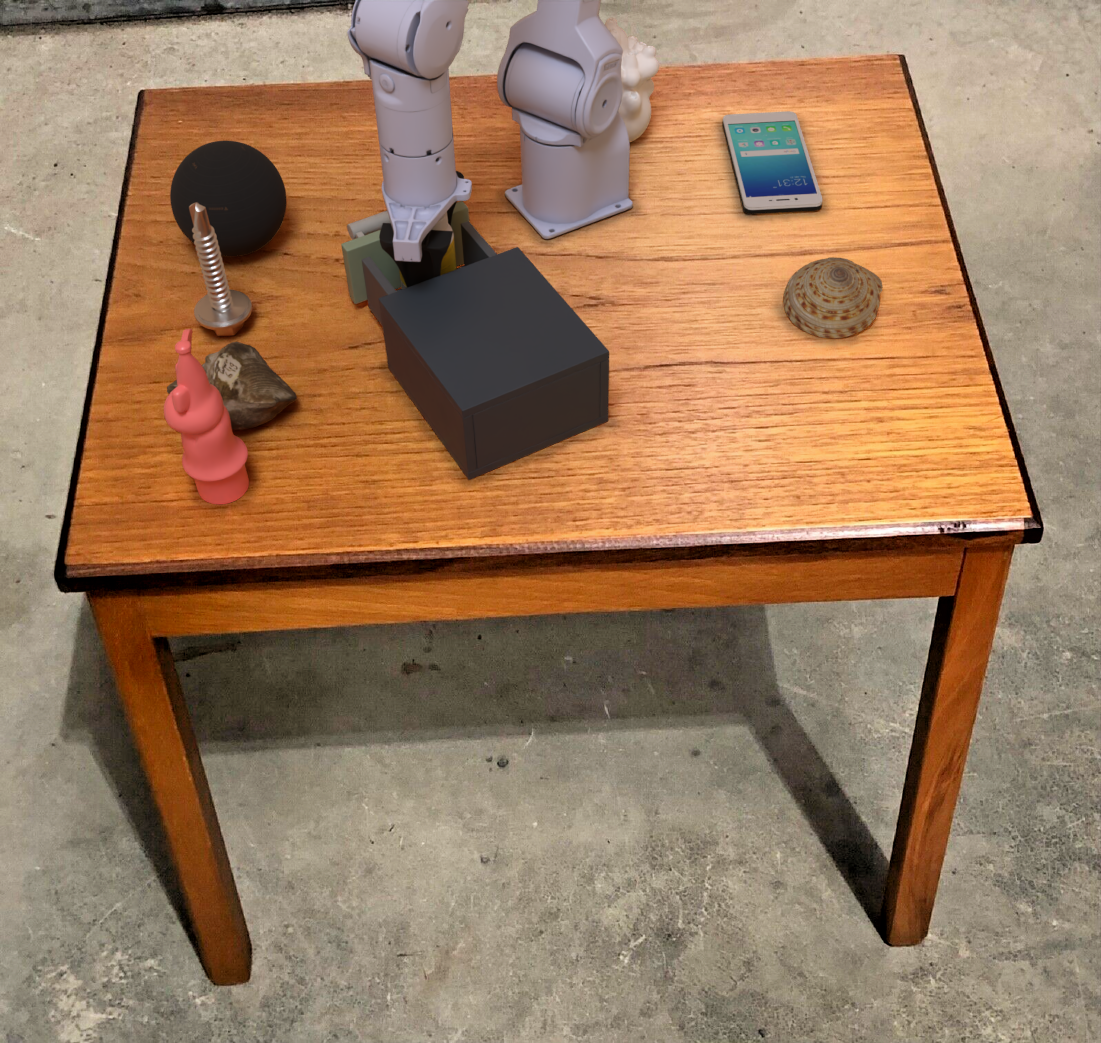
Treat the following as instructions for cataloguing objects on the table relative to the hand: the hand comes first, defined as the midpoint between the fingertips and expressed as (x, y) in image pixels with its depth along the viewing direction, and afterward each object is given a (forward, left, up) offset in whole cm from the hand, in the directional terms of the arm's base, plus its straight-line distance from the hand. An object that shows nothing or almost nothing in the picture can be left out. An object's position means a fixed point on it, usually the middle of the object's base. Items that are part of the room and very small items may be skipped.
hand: (428, 276), depth 120 cm
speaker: (+11, -18, -5) cm, 22 cm away
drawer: (0, -1, -4) cm, 4 cm away
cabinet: (0, +11, -5) cm, 12 cm away
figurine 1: (+23, +9, -5) cm, 25 cm away
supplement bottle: (0, 0, -2) cm, 2 cm away
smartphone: (-37, -3, -5) cm, 38 cm away
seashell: (-30, +16, -5) cm, 35 cm away
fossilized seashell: (+19, +2, -5) cm, 19 cm away
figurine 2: (-27, -14, -5) cm, 31 cm away
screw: (+16, -8, -5) cm, 18 cm away
